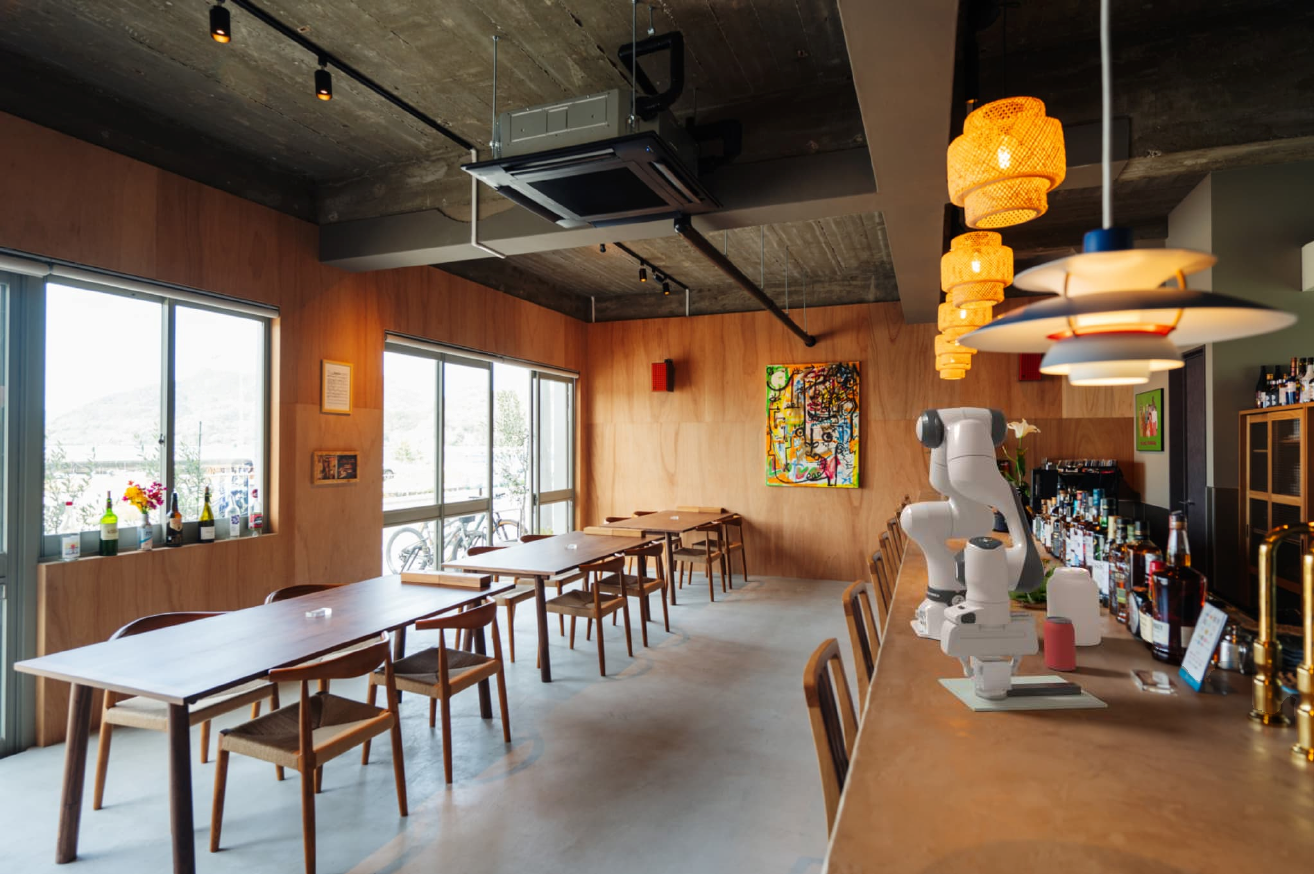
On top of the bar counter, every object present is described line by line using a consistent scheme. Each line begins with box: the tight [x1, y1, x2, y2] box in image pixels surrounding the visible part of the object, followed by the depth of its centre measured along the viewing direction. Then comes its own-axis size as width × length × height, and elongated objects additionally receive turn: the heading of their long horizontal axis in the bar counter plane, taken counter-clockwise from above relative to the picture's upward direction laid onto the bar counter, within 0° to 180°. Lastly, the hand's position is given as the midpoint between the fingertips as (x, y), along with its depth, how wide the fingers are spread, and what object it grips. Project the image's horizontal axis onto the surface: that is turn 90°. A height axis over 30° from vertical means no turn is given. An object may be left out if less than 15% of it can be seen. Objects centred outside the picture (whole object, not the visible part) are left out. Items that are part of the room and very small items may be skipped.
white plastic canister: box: [1046, 566, 1102, 647], centre depth 190 cm, size 12×12×20 cm
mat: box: [938, 675, 1109, 712], centre depth 151 cm, size 18×28×1 cm, turn 90°
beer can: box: [1043, 616, 1077, 672], centre depth 167 cm, size 7×7×12 cm
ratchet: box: [975, 681, 1082, 701], centre depth 149 cm, size 6×22×5 cm, turn 90°
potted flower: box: [1008, 556, 1061, 609], centre depth 230 cm, size 25×24×18 cm
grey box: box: [969, 656, 1012, 690], centre depth 149 cm, size 6×6×6 cm
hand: (990, 675), depth 149 cm, fingers open, 8 cm apart
